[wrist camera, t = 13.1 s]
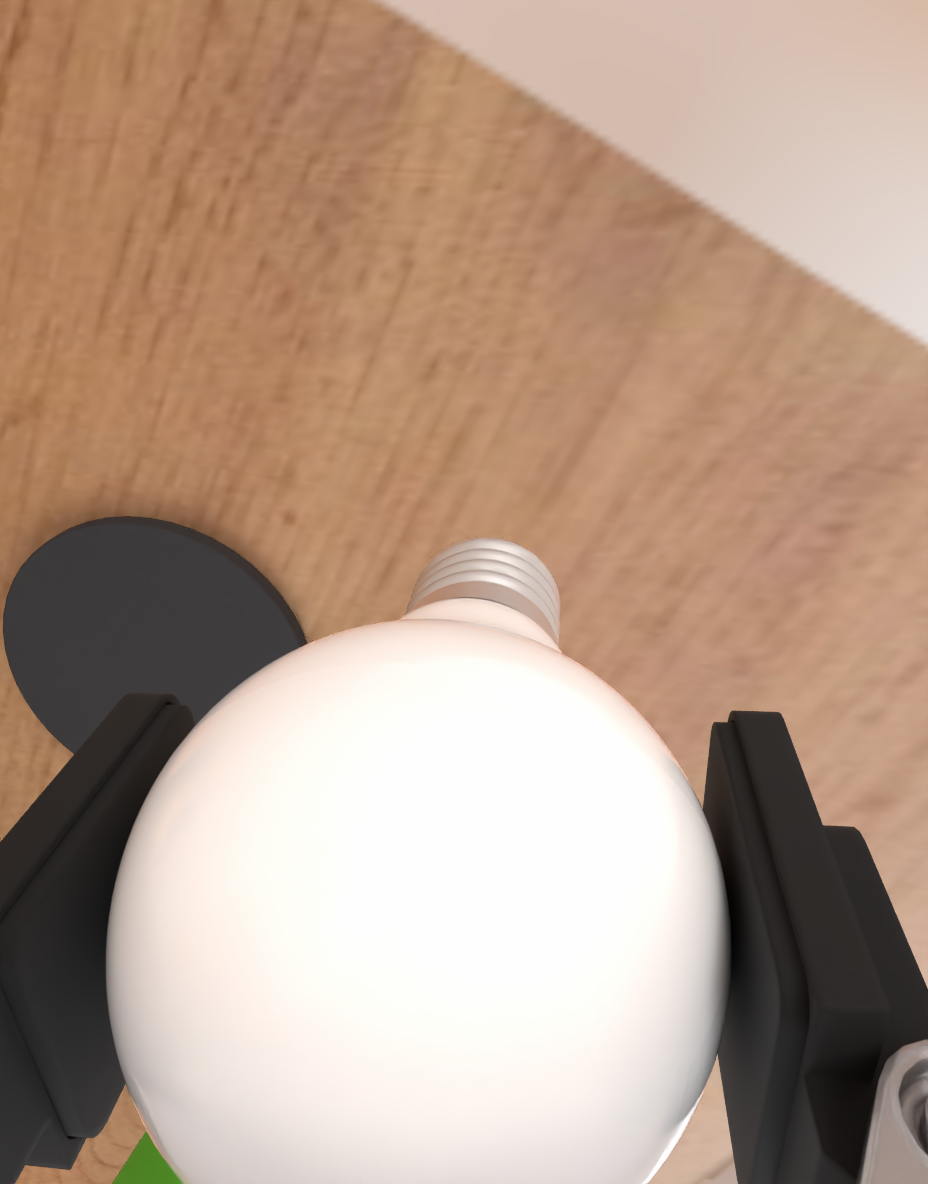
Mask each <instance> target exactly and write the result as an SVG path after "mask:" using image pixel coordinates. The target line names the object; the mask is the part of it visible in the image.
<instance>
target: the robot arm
mask: <svg viewBox="0 0 928 1184" xmlns="http://www.w3.org/2000/svg"><path fill="white" fill-rule="evenodd" d="M194 726H195V724H194V720H193V716H192V713H191V710H190V709H189V707H188V706H185V705H180V703H179V700H178V699H177V698H176V697H175V696H174V695H172V694H160V693H129V694H126V695H125V696H124V697H123V698H122V699H121V700H120V701H119V702H118V703H117V705H116V706H115V707H114V708H113V709H112V711H111V712H110V713H109V714H108V715H107V716H106V718H105V719H104V720H103V721H102V722H101V724H100V725H99V726H98V727H97V728H96V729H95V731H94V732H93V733H92V734H91V735H90V737H89V738H88V739H87V740H86V741H85V743H84V744H83V745H82V746H81V747H80V748H79V750H78V751H77V752H76V753H75V754H74V756H73V757H72V758H71V759H70V760H69V761H68V763H67V764H66V765H65V766H64V767H63V769H62V770H61V771H60V772H59V773H58V774H57V776H56V777H55V778H54V779H53V780H52V782H51V783H50V784H49V785H48V786H47V788H46V789H45V790H44V791H43V792H42V793H41V795H40V796H39V797H38V798H37V799H36V801H35V802H34V803H33V804H32V805H31V806H30V808H29V809H28V810H27V811H26V812H25V814H24V815H23V816H22V817H21V818H20V820H19V821H18V822H17V823H16V824H15V825H14V827H13V828H12V829H11V830H10V831H9V833H8V834H7V835H6V836H5V837H4V838H3V840H2V841H1V842H0V1184H14V1183H15V1182H16V1181H17V1179H18V1177H19V1175H20V1173H21V1172H22V1170H23V1168H24V1166H25V1165H29V1166H39V1167H48V1168H58V1169H67V1170H71V1168H72V1166H73V1164H74V1162H75V1160H76V1158H77V1156H78V1154H79V1152H80V1150H81V1148H82V1146H83V1144H84V1142H85V1140H86V1138H94V1137H95V1136H97V1135H98V1134H99V1133H100V1132H101V1131H102V1129H103V1128H104V1126H105V1124H106V1122H107V1121H108V1119H109V1117H110V1115H111V1112H112V1110H113V1108H114V1106H115V1104H116V1102H117V1100H118V1098H119V1096H120V1094H121V1092H122V1090H123V1088H124V1086H125V1084H126V1083H125V1080H124V1077H123V1074H122V1071H121V1068H120V1064H119V1061H118V1057H117V1054H116V1050H115V1046H114V1041H113V1037H112V1031H111V1026H110V1021H109V1013H108V1005H107V995H106V978H105V955H106V936H107V926H108V918H109V911H110V904H111V899H112V894H113V889H114V884H115V880H116V876H117V872H118V869H119V865H120V861H121V858H122V855H123V852H124V849H125V846H126V843H127V840H128V837H129V834H130V832H131V829H132V827H133V824H134V822H135V820H136V817H137V815H138V813H139V811H140V808H141V806H142V804H143V802H144V800H145V798H146V796H147V794H148V793H149V791H150V789H151V787H152V785H153V783H154V781H155V780H156V778H157V777H158V775H159V773H160V772H161V770H162V769H163V767H164V766H165V764H166V762H167V761H168V759H169V758H170V757H171V755H172V754H173V753H174V751H175V750H176V748H177V747H178V746H179V744H180V743H181V742H182V741H183V739H184V738H185V737H186V736H187V735H188V733H189V732H190V731H191V730H192V729H193V727H194ZM703 811H704V813H705V816H706V818H707V821H708V824H709V826H710V829H711V832H712V834H713V837H714V841H715V844H716V847H717V850H718V854H719V857H720V861H721V865H722V869H723V873H724V878H725V883H726V888H727V894H728V900H729V907H730V917H731V929H732V972H731V985H730V994H729V1002H728V1009H727V1015H726V1020H725V1025H724V1030H723V1034H722V1039H721V1042H720V1046H719V1050H718V1060H719V1066H720V1072H721V1079H722V1085H723V1092H724V1098H725V1104H726V1111H727V1117H728V1124H729V1130H730V1136H731V1143H732V1149H733V1156H734V1162H735V1168H736V1175H737V1181H738V1184H928V989H927V986H926V984H925V982H924V979H923V977H922V974H921V972H920V970H919V967H918V965H917V963H916V960H915V958H914V956H913V953H912V951H911V948H910V946H909V944H908V941H907V939H906V937H905V934H904V932H903V929H902V927H901V925H900V922H899V920H898V918H897V915H896V913H895V911H894V908H893V906H892V903H891V901H890V899H889V896H888V894H887V892H886V889H885V887H884V884H883V882H882V880H881V877H880V875H879V873H878V870H877V868H876V866H875V863H874V861H873V858H872V856H871V854H870V851H869V849H868V847H867V844H866V842H865V840H864V838H863V837H862V835H861V833H860V832H859V831H858V830H857V829H856V828H855V827H846V826H824V825H822V822H821V819H820V816H819V814H818V811H817V808H816V806H815V803H814V800H813V797H812V795H811V792H810V789H809V787H808V784H807V781H806V778H805V776H804V773H803V770H802V768H801V765H800V762H799V759H798V757H797V754H796V751H795V749H794V746H793V743H792V740H791V738H790V735H789V732H788V730H787V727H786V724H785V721H784V719H783V717H782V715H781V713H779V712H758V711H732V712H730V715H729V719H728V723H726V722H714V723H713V725H712V730H711V738H710V748H709V757H708V766H707V776H706V785H705V794H704V804H703Z"/></svg>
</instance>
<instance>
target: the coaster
mask: <svg viewBox="0 0 928 1184" xmlns="http://www.w3.org/2000/svg"><path fill="white" fill-rule="evenodd" d="M3 635H4V644H5V650H6V654H7V658H8V662H9V666H10V669H11V671H12V674H13V676H14V679H15V681H16V684H17V686H18V687H19V689H20V691H21V693H22V695H23V697H24V699H25V700H26V702H27V703H28V705H29V706H30V708H31V709H32V711H33V712H34V714H35V715H36V716H37V718H38V719H39V720H40V721H41V722H42V724H43V725H44V726H45V727H46V728H47V729H48V731H49V732H50V733H51V734H52V735H53V736H54V737H55V738H56V739H57V740H58V741H60V742H61V743H62V744H63V745H64V746H65V747H66V748H67V749H69V750H70V751H71V752H72V753H74V754H75V753H76V752H77V751H78V750H79V748H80V747H81V746H82V745H83V744H84V743H85V741H86V740H87V739H88V738H89V737H90V735H91V734H92V733H93V732H94V731H95V729H96V728H97V727H98V726H99V725H100V724H101V722H102V721H103V720H104V719H105V718H106V716H107V715H108V714H109V713H110V712H111V711H112V709H113V708H114V707H115V706H116V705H117V703H118V702H119V701H120V700H121V699H122V698H123V697H124V696H125V695H126V694H129V693H160V694H172V695H174V696H175V697H176V698H177V699H178V700H179V703H180V705H185V706H188V707H189V709H190V710H191V713H192V716H193V720H194V724H195V725H196V724H197V723H198V722H199V721H200V720H201V719H202V718H203V717H204V716H205V714H206V713H207V712H208V711H209V710H210V709H211V708H212V707H213V706H215V705H216V704H217V703H218V702H219V701H220V700H221V699H222V698H223V697H224V696H225V695H227V694H228V693H229V692H230V691H231V690H233V689H234V688H235V687H236V686H238V685H239V684H240V683H241V682H243V681H244V680H245V679H247V678H248V677H250V676H251V675H252V674H254V673H255V672H257V671H258V670H260V669H261V668H263V667H264V666H266V665H268V664H269V663H271V662H273V661H274V660H276V659H278V658H280V657H281V656H283V655H285V654H287V653H289V652H291V651H293V650H295V649H297V648H299V647H301V646H303V645H306V644H307V642H306V639H305V637H304V634H303V631H302V629H301V627H300V625H299V623H298V621H297V619H296V618H295V616H294V614H293V612H292V611H291V609H290V608H289V606H288V605H287V603H286V602H285V600H284V599H283V597H282V596H281V595H280V593H279V592H278V591H277V590H276V589H275V588H274V586H273V585H272V584H271V583H270V582H269V581H268V579H267V578H265V577H264V576H263V575H262V574H261V573H260V572H259V571H258V570H257V569H256V568H255V567H254V566H253V565H252V564H250V563H249V562H248V561H246V560H245V559H244V558H242V557H241V556H240V555H238V554H237V553H236V552H234V551H233V550H231V549H230V548H228V547H226V546H225V545H223V544H221V543H220V542H218V541H216V540H215V539H213V538H211V537H208V536H206V535H204V534H202V533H200V532H197V531H195V530H193V529H190V528H187V527H184V526H181V525H178V524H175V523H172V522H167V521H162V520H157V519H152V518H142V517H128V516H127V517H110V518H103V519H98V520H93V521H88V522H85V523H83V524H80V525H77V526H74V527H72V528H69V529H68V530H66V531H64V532H62V533H60V534H59V535H57V536H55V537H54V538H52V539H51V540H49V541H48V542H46V543H45V544H44V545H42V546H41V547H40V548H39V549H38V550H36V551H35V552H34V553H33V554H32V555H31V556H30V557H29V558H28V559H27V561H26V562H25V563H24V564H23V565H22V566H21V568H20V570H19V571H18V573H17V575H16V577H15V578H14V580H13V582H12V585H11V587H10V590H9V593H8V595H7V599H6V604H5V609H4V616H3Z"/></svg>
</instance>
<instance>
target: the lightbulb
mask: <svg viewBox="0 0 928 1184" xmlns="http://www.w3.org/2000/svg"><path fill="white" fill-rule="evenodd" d="M559 622H560V597H559V592H558V588H557V585H556V582H555V580H554V578H553V576H552V574H551V573H550V571H549V570H548V568H547V567H546V566H545V564H544V563H543V562H542V561H541V560H540V559H539V558H538V557H537V556H536V555H534V554H533V553H532V552H530V551H529V550H528V549H526V548H524V547H522V546H520V545H518V544H516V543H513V542H511V541H508V540H504V539H500V538H493V537H475V538H468V539H464V540H460V541H457V542H455V543H452V544H450V545H448V546H446V547H445V548H443V549H442V550H440V551H439V552H438V553H436V554H435V555H434V556H433V557H432V558H431V559H430V560H429V561H428V562H427V564H426V565H425V566H424V568H423V569H422V571H421V573H420V575H419V577H418V579H417V582H416V585H415V589H414V591H413V594H412V596H411V600H410V602H409V604H408V607H407V610H406V612H405V615H404V616H403V617H401V618H400V619H399V620H394V621H386V622H380V623H374V624H369V625H364V626H359V627H355V628H351V629H348V630H344V631H341V632H338V633H335V634H331V635H328V636H325V637H323V638H320V639H318V640H315V641H313V642H310V643H308V644H306V645H303V646H301V647H299V648H297V649H295V650H293V651H291V652H289V653H287V654H285V655H283V656H281V657H280V658H278V659H276V660H274V661H273V662H271V663H269V664H268V665H266V666H264V667H263V668H261V669H260V670H258V671H257V672H255V673H254V674H252V675H251V676H250V677H248V678H247V679H245V680H244V681H243V682H241V683H240V684H239V685H238V686H236V687H235V688H234V689H233V690H231V691H230V692H229V693H228V694H227V695H225V696H224V697H223V698H222V699H221V700H220V701H219V702H218V703H217V704H216V705H215V706H213V707H212V708H211V709H210V710H209V711H208V712H207V713H206V714H205V716H204V717H203V718H202V719H201V720H200V721H199V722H198V723H197V724H196V725H195V726H194V727H193V729H192V730H191V731H190V732H189V733H188V735H187V736H186V737H185V738H184V739H183V741H182V742H181V743H180V744H179V746H178V747H177V748H176V750H175V751H174V753H173V754H172V755H171V757H170V758H169V759H168V761H167V762H166V764H165V766H164V767H163V769H162V770H161V772H160V773H159V775H158V777H157V778H156V780H155V781H154V783H153V785H152V787H151V789H150V791H149V793H148V794H147V796H146V798H145V800H144V802H143V804H142V806H141V808H140V811H139V813H138V815H137V817H136V820H135V822H134V824H133V827H132V829H131V832H130V834H129V837H128V840H127V843H126V846H125V849H124V852H123V855H122V858H121V861H120V865H119V869H118V872H117V876H116V880H115V884H114V889H113V894H112V899H111V904H110V911H109V918H108V926H107V936H106V955H105V978H106V995H107V1005H108V1013H109V1021H110V1026H111V1031H112V1037H113V1041H114V1046H115V1050H116V1054H117V1057H118V1061H119V1064H120V1068H121V1071H122V1074H123V1077H124V1080H125V1083H126V1086H127V1089H128V1091H129V1094H130V1097H131V1099H132V1102H133V1104H134V1106H135V1108H136V1111H137V1113H138V1115H139V1117H140V1119H141V1121H142V1123H143V1125H144V1127H145V1129H146V1131H147V1133H148V1134H149V1136H150V1138H151V1140H152V1142H153V1143H154V1145H155V1146H156V1148H157V1150H158V1151H159V1153H160V1155H161V1156H162V1158H163V1159H164V1160H165V1162H166V1163H167V1165H168V1166H169V1168H170V1169H171V1171H172V1172H173V1173H174V1174H175V1176H176V1177H177V1178H178V1179H179V1181H180V1182H181V1183H182V1184H648V1183H649V1181H650V1180H651V1179H652V1178H653V1177H654V1175H655V1174H656V1173H657V1172H658V1170H659V1169H660V1168H661V1166H662V1165H663V1164H664V1162H665V1161H666V1159H667V1158H668V1157H669V1155H670V1154H671V1152H672V1151H673V1149H674V1148H675V1146H676V1144H677V1143H678V1141H679V1140H680V1138H681V1136H682V1135H683V1133H684V1131H685V1129H686V1128H687V1126H688V1124H689V1122H690V1120H691V1118H692V1116H693V1114H694V1113H695V1111H696V1108H697V1106H698V1104H699V1102H700V1099H701V1097H702V1095H703V1093H704V1090H705V1088H706V1085H707V1083H708V1080H709V1077H710V1075H711V1072H712V1069H713V1066H714V1063H715V1060H716V1056H717V1053H718V1050H719V1046H720V1042H721V1039H722V1034H723V1030H724V1025H725V1020H726V1015H727V1009H728V1002H729V994H730V985H731V972H732V929H731V917H730V907H729V900H728V894H727V888H726V883H725V878H724V873H723V869H722V865H721V861H720V857H719V854H718V850H717V847H716V844H715V841H714V837H713V834H712V832H711V829H710V826H709V824H708V821H707V818H706V816H705V813H704V811H703V809H702V807H701V804H700V802H699V800H698V798H697V796H696V794H695V792H694V790H693V788H692V786H691V784H690V782H689V780H688V778H687V777H686V775H685V773H684V772H683V770H682V768H681V767H680V765H679V763H678V762H677V760H676V759H675V757H674V756H673V754H672V753H671V751H670V750H669V748H668V747H667V745H666V744H665V743H664V741H663V740H662V739H661V738H660V736H659V735H658V734H657V732H656V731H655V730H654V729H653V728H652V726H651V725H650V724H649V723H648V722H647V721H646V719H645V718H644V717H643V716H642V715H641V714H640V713H639V712H638V711H637V710H636V709H635V708H634V707H633V706H632V705H631V704H630V703H629V702H628V701H627V700H626V699H625V698H624V697H623V696H622V695H620V694H619V693H618V692H617V691H616V690H615V689H613V688H612V687H611V686H610V685H609V684H607V683H606V682H605V681H604V680H602V679H601V678H600V677H598V676H597V675H596V674H594V673H593V672H591V671H590V670H589V669H587V668H586V667H584V666H583V665H581V664H579V663H578V662H576V661H575V660H573V659H571V658H569V657H568V656H566V655H564V654H563V653H562V652H561V650H560V648H559Z"/></svg>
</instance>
